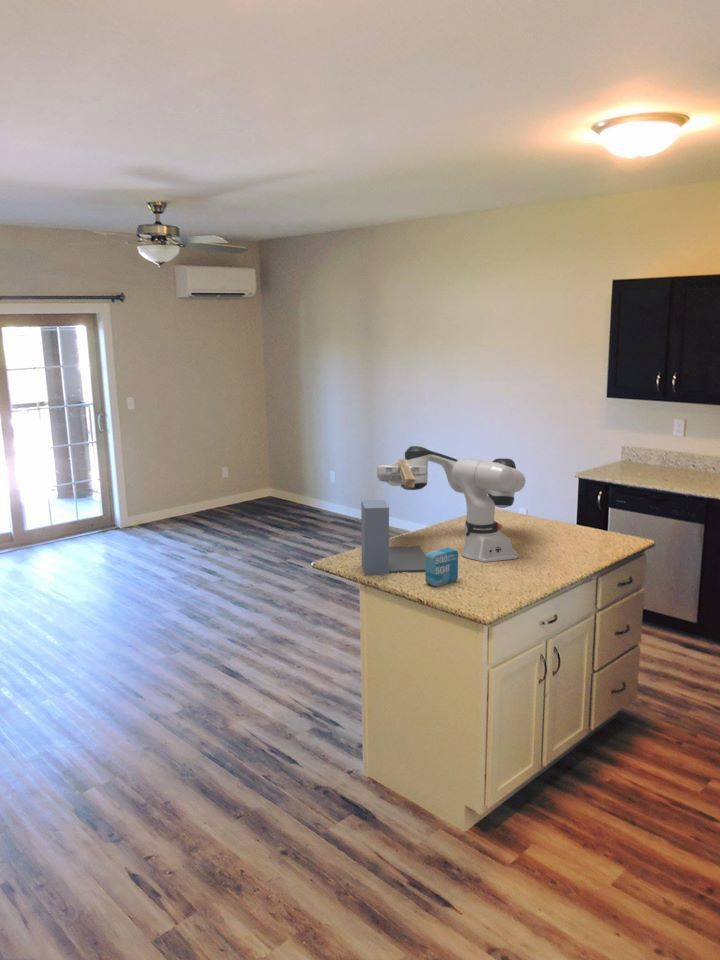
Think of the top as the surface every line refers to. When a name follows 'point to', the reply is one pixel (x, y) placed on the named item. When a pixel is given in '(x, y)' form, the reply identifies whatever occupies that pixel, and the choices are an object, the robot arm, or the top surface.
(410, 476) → the maple rod
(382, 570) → the slate block
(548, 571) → the top surface
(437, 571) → the data package
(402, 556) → the rubber mat
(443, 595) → the top surface
